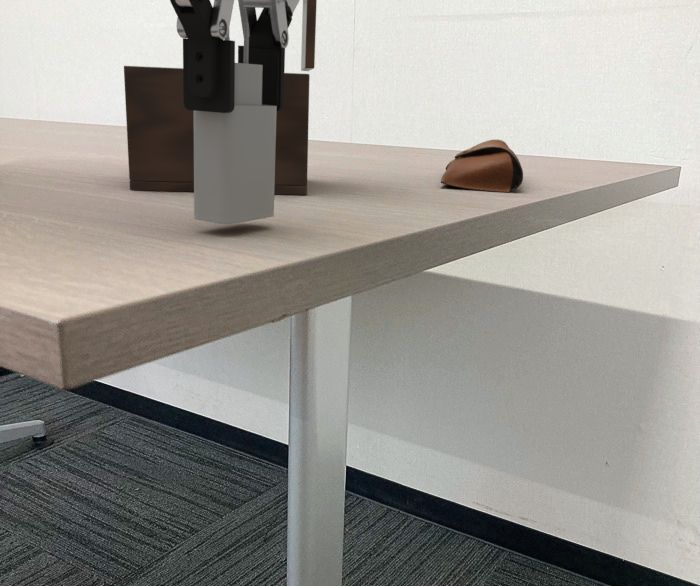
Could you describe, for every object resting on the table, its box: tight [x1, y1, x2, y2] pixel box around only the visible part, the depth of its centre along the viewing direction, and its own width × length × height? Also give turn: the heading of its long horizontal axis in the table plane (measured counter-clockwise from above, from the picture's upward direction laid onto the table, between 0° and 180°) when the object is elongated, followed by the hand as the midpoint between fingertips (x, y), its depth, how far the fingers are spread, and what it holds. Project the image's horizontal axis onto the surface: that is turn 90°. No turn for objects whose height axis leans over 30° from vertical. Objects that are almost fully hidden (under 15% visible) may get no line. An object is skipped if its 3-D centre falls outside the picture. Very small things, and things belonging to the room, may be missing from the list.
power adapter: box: [193, 23, 277, 225], centre depth 49 cm, size 3×5×12 cm, turn 148°
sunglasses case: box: [440, 139, 524, 193], centre depth 86 cm, size 18×7×7 cm, turn 173°
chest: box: [123, 65, 311, 196], centre depth 73 cm, size 16×13×10 cm
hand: (236, 107), depth 49 cm, fingers closed on power adapter, 5 cm apart
